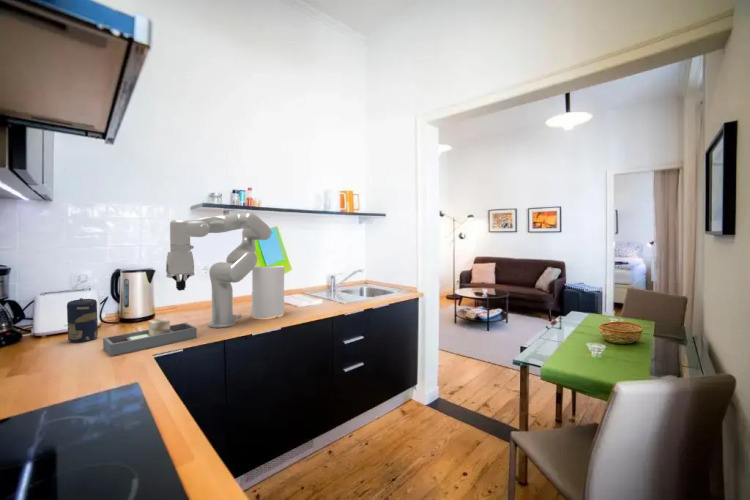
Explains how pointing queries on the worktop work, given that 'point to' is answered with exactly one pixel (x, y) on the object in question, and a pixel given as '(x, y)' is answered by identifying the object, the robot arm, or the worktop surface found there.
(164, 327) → the birch block
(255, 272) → the cylinder
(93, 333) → the canister
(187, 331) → the grey shallow tray
